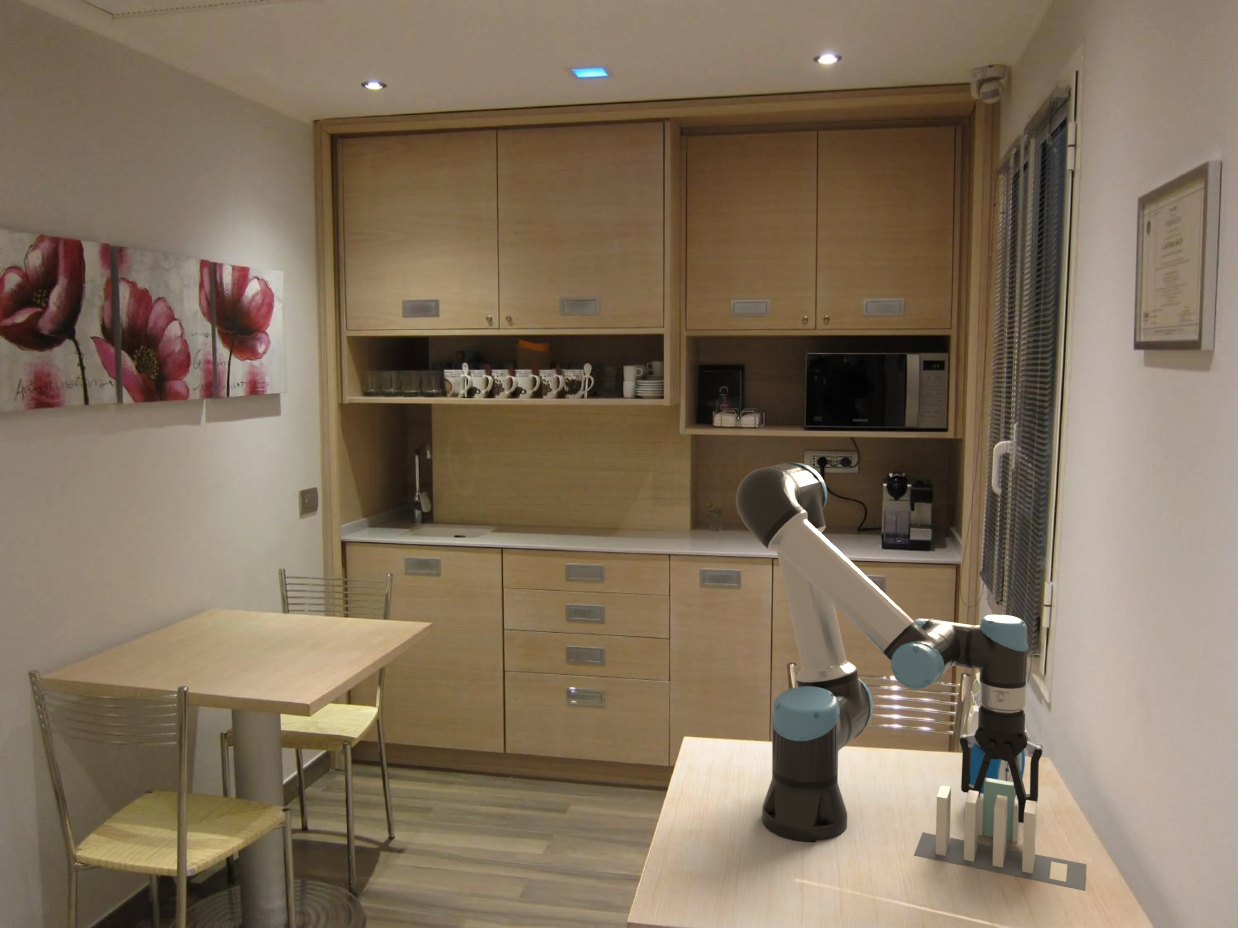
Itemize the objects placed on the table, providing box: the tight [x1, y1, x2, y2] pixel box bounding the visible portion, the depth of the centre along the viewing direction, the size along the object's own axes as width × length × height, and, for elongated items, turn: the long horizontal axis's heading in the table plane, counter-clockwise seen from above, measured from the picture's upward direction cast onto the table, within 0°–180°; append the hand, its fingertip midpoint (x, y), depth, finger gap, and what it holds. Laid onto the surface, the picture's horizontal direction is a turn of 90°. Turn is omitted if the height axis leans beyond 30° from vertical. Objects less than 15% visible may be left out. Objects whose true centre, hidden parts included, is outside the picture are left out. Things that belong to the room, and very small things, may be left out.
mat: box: [913, 832, 1087, 891], centre depth 162 cm, size 26×9×1 cm, turn 64°
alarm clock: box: [970, 741, 1026, 798], centre depth 184 cm, size 13×6×15 cm, turn 135°
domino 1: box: [935, 785, 952, 856], centre depth 165 cm, size 2×5×10 cm, turn 154°
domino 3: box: [982, 778, 1016, 841], centre depth 170 cm, size 2×5×10 cm, turn 64°
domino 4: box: [992, 795, 1007, 867], centre depth 161 cm, size 2×5×10 cm, turn 154°
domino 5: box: [1022, 800, 1038, 874], centre depth 160 cm, size 2×5×10 cm, turn 154°
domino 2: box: [963, 790, 979, 862], centre depth 163 cm, size 2×5×10 cm, turn 154°
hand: (997, 834), depth 170 cm, fingers closed on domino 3, 5 cm apart
